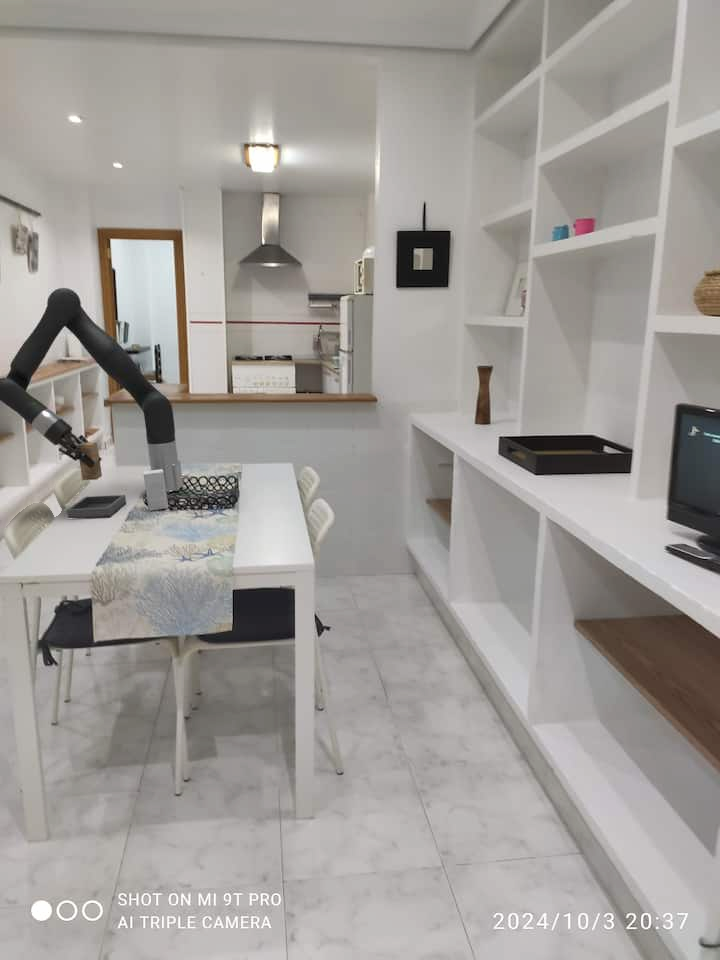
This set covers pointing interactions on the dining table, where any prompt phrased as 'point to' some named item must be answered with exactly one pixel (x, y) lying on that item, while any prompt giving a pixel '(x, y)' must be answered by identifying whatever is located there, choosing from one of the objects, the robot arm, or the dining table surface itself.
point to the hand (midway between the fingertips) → (96, 463)
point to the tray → (97, 507)
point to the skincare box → (155, 489)
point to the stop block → (92, 452)
